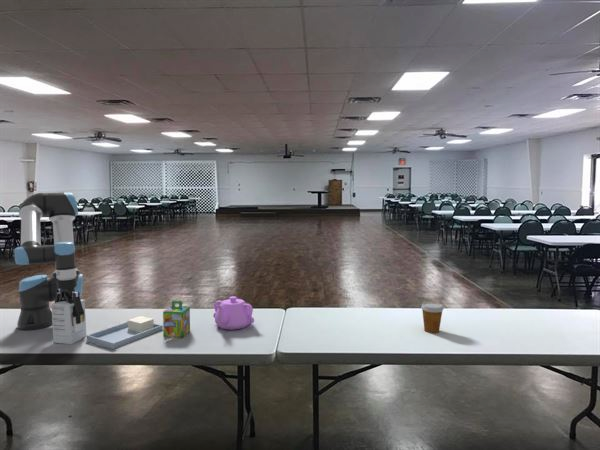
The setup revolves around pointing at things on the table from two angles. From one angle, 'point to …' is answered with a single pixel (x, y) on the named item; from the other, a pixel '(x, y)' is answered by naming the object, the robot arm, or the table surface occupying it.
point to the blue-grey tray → (119, 335)
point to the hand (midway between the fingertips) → (69, 328)
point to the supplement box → (66, 323)
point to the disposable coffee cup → (432, 316)
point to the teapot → (233, 313)
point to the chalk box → (176, 320)
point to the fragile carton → (140, 324)
